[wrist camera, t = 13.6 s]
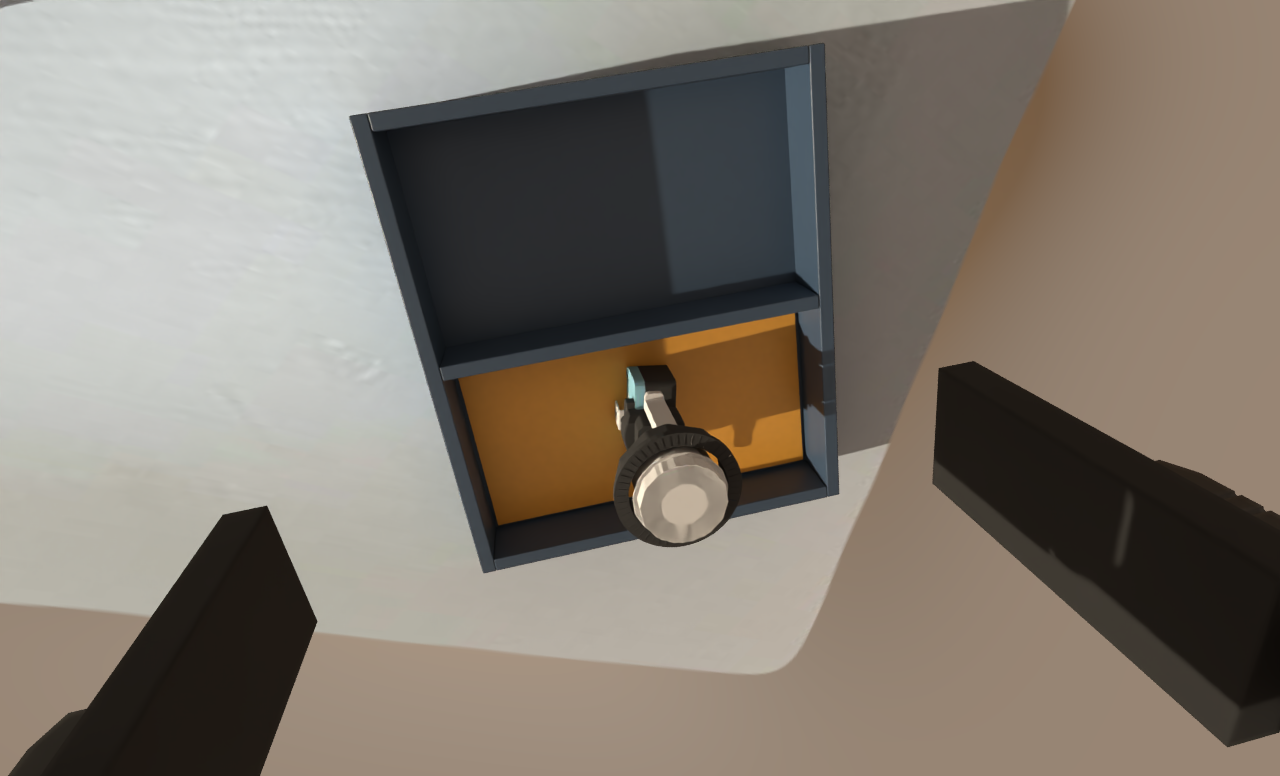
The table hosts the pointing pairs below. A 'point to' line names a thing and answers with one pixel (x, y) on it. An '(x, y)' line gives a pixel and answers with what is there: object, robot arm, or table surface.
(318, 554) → the table surface
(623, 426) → the push button
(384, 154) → the parts tray
